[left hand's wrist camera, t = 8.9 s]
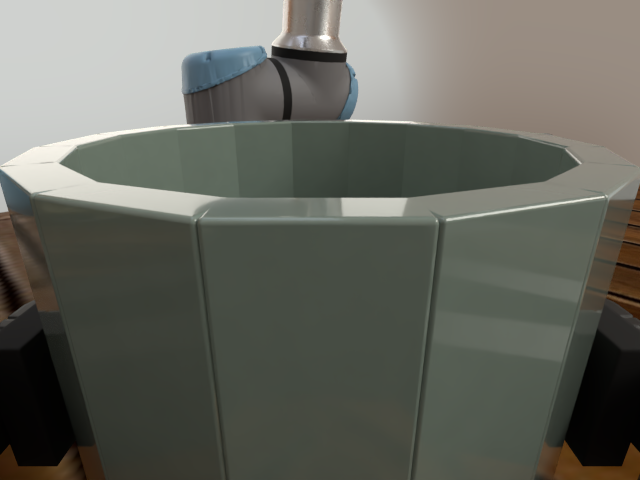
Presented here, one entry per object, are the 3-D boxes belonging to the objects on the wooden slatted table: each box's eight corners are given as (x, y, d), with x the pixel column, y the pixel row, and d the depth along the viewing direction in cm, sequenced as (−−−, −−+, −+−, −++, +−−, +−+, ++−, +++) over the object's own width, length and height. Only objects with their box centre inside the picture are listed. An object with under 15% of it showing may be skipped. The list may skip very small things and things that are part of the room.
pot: (80, 514, 12) (-39, 139, 8) (320, 360, 19) (320, 115, 15) (318, 1066, 5) (313, 420, 1) (560, 516, 12) (680, 139, 8)
